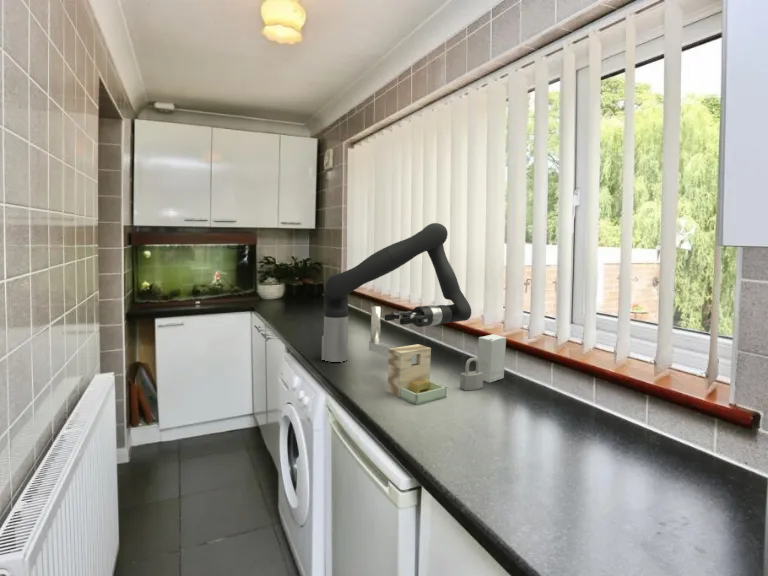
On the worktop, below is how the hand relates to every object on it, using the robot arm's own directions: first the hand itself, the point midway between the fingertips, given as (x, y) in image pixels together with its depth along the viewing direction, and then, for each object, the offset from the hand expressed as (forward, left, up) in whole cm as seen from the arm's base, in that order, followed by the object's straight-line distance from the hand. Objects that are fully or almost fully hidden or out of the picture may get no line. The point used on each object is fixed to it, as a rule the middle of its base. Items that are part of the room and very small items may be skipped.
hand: (392, 319), depth 156 cm
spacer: (+13, -21, -18) cm, 30 cm away
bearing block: (+9, -17, -19) cm, 27 cm away
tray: (+14, -22, -19) cm, 32 cm away
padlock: (+28, -8, -19) cm, 35 cm away
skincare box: (+34, +4, -19) cm, 39 cm away
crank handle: (+2, -11, -10) cm, 15 cm away
